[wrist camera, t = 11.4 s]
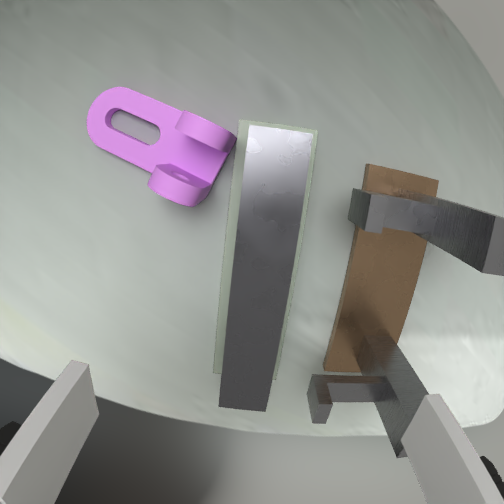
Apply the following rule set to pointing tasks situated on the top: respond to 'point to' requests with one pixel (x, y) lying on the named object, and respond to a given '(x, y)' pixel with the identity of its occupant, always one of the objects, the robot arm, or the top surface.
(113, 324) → the top surface
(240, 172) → the mat
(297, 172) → the rail
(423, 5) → the top surface
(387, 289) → the hook rack
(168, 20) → the top surface
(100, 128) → the bracket
